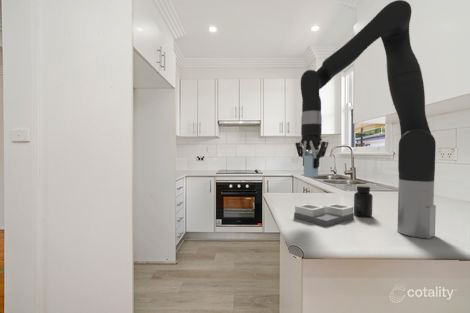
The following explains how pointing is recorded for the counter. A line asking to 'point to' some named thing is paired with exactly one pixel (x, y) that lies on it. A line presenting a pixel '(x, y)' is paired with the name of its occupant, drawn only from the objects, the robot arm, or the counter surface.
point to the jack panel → (324, 213)
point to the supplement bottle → (363, 202)
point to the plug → (309, 166)
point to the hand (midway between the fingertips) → (310, 167)
